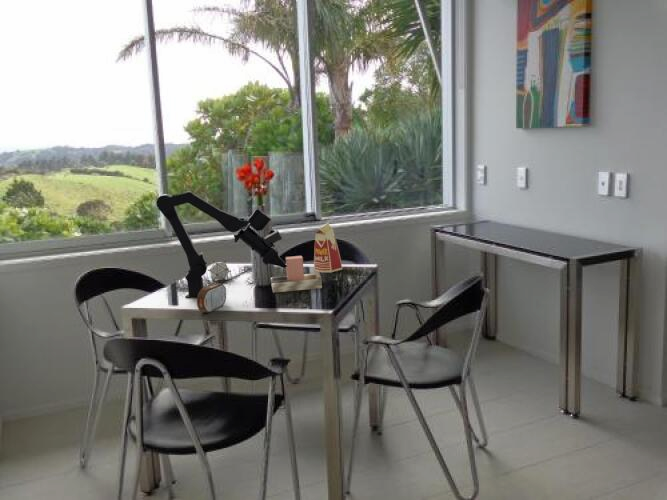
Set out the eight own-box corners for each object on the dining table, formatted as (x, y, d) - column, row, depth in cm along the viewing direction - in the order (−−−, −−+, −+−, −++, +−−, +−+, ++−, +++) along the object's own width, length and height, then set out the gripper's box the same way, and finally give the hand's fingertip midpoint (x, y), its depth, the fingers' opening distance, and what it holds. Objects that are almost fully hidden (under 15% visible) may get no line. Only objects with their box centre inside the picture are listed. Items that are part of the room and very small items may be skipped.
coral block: (288, 285, 247) (286, 259, 245) (287, 283, 252) (285, 257, 250) (304, 284, 248) (302, 257, 246) (303, 281, 253) (301, 255, 251)
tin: (221, 303, 231) (218, 280, 229) (229, 304, 230) (226, 280, 228) (197, 315, 217) (194, 290, 216) (205, 316, 216) (203, 290, 215)
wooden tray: (273, 292, 242) (272, 281, 242) (271, 285, 255) (270, 274, 255) (321, 287, 245) (321, 277, 244) (317, 280, 257) (317, 270, 257)
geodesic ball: (225, 288, 273) (237, 267, 274) (219, 285, 264) (232, 263, 265) (207, 277, 274) (219, 256, 275) (200, 274, 266) (213, 252, 267)
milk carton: (326, 267, 283) (323, 220, 279) (343, 269, 277) (340, 221, 274) (312, 271, 276) (309, 224, 272) (329, 273, 270) (326, 224, 267)
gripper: (269, 227, 236) (302, 254, 239) (267, 221, 254) (297, 246, 257) (248, 250, 236) (282, 278, 239) (248, 243, 254) (279, 268, 257)
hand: (286, 267), depth 248 cm, fingers closed, pressing on coral block
